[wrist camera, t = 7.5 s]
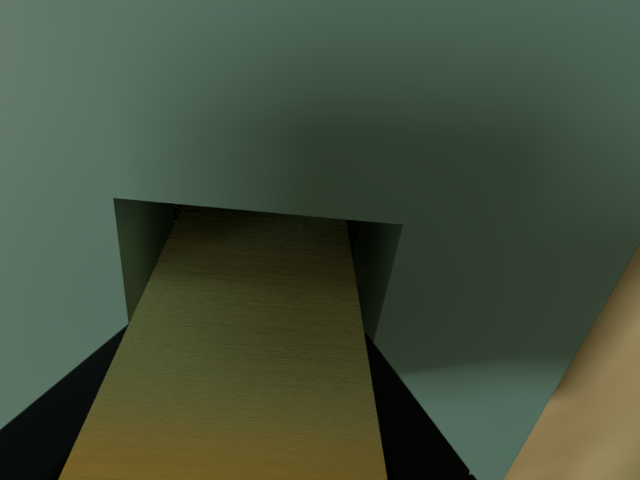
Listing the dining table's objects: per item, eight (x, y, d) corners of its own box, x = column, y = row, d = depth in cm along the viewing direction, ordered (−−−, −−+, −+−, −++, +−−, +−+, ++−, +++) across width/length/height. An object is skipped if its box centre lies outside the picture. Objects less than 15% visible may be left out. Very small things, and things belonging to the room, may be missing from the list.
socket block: (625, -39, 10) (795, -28, 6) (446, 403, 17) (482, 515, 14) (-98, -150, 8) (-361, -210, 5) (46, 380, 16) (-23, 498, 12)
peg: (344, 208, 10) (455, 918, 3) (324, 322, 12) (360, 946, 5) (188, 193, 10) (-156, 948, 3) (191, 313, 12) (-4, 966, 4)
